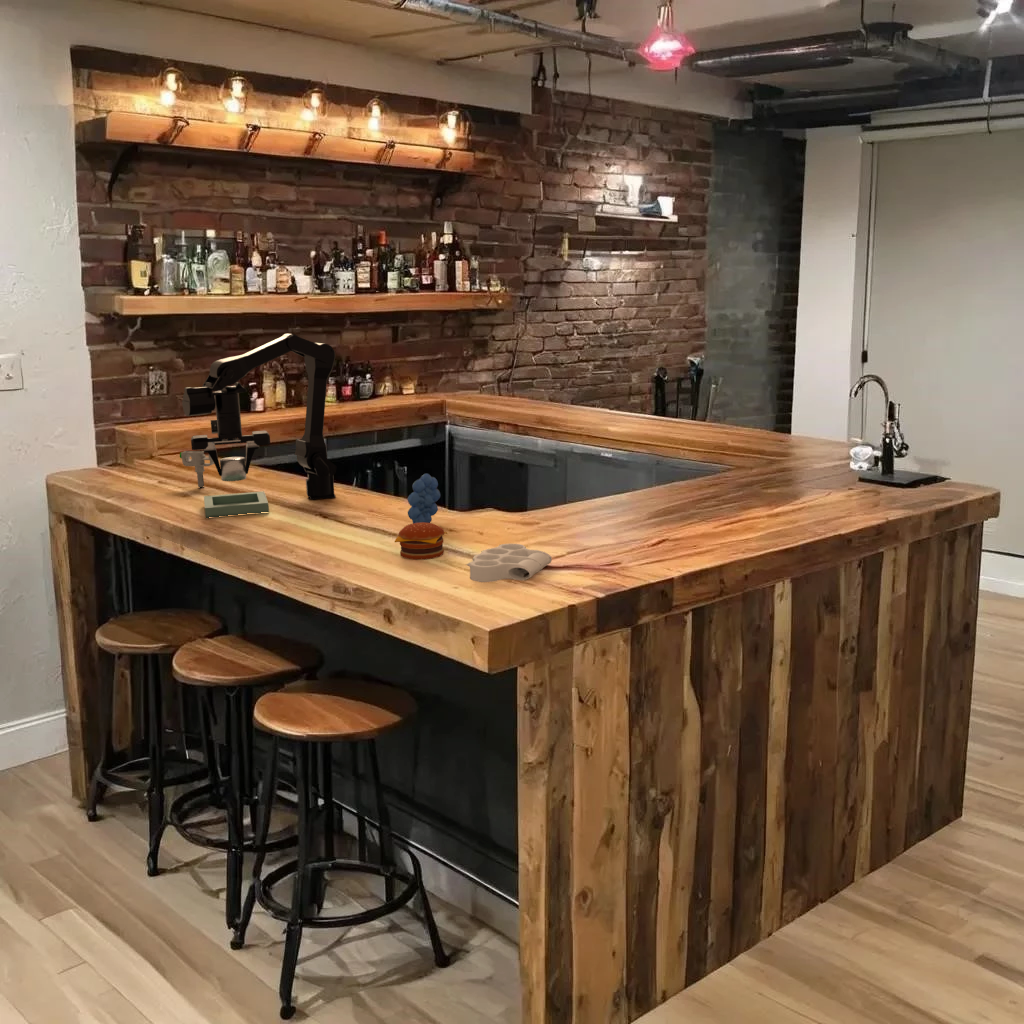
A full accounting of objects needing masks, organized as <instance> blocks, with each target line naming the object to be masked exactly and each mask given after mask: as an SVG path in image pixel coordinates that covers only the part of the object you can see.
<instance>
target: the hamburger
mask: <svg viewBox="0 0 1024 1024" xmlns="http://www.w3.org/2000/svg"><path fill="white" fill-rule="evenodd" d="M445 534H447V535H448V532H446V531H445V530H444V529H443V528H442V527H441V526H439V525H437V524H436V523H432V522H430V523H426V522H420V523H413V522H412V523H410V524H407V525H404V527H403V528H401V530H399V532H398V535H397V537H396V538H395V540H394V543H399V545H400V551H399V553H400V557H402V558H404V559H408V560H415V561H418V560H419V561H420V560H421V561H424V560H425V561H426V560H431V559H436V558H440V557H442V556H443V555H444V553H445V548H444V541H445V538H444V537H443V536H444V535H445Z"/></svg>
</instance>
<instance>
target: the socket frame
mask: <svg viewBox="0 0 1024 1024" xmlns="http://www.w3.org/2000/svg"><path fill="white" fill-rule="evenodd" d="M203 502H204V503H203V504H204V512H205V513H204V515H205V519H206V518H208V519H210V518H209V517H219V516H228V515H238V514H247V513H261V512H269V513H270V509H269V507H270V506H269V501H268V499H267V496H266V493H265V491H264V490H262V491H251V492H241V493H239V492H238V493H226V494H224V493H223V494H215V495H204V496H203ZM219 518H220V517H219Z"/></svg>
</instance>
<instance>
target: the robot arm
mask: <svg viewBox="0 0 1024 1024" xmlns="http://www.w3.org/2000/svg"><path fill="white" fill-rule="evenodd" d="M290 352H292V353H294V354H296V355H298V356H300V357H303V358H304V367H305V370H306V374H307V377H308V378H307V379H308V383H307V396H306V411H305V424H304V433H303V435H302V437H301V439H299V438H298V439H296V440H295V452H294V455H295V456H296V461H297V462H298V464H299V465H300V466H301V467H303V469H304V472H305V473H307V478H306V479H305V488H306V489H305V490H306V496H307V497H310V498H309V499H310V500H321V499H320V498H323V499H333V498H336V494H335V485H334V484H335V483H334V475H336V473H337V465H336V464H335V463H334V462H332V461H331V460H330V459H329V458H328V449H327V445H326V442H325V438H324V427H325V426H324V424H325V414H326V413H325V410H326V397H327V387H328V385H327V384H328V379H329V376H330V375H331V373H332V371H333V368H334V365H335V359H336V351H335V349H334V348H333V346H331V345H330V344H327V343H321V342H314V341H311V340H308V339H306V338H303V337H300V336H298V335H297V334H294V333H284V334H282V336H280V337H278V338H275V339H274V340H271V341H269V342H267V343H264V344H263V345H261V346H259V347H256V348H254V349H252V350H249V351H247V352H245V353H243V354H240V355H235V356H234V355H233V356H229V357H224V358H221V359H218V360H215V361H213V362H212V364H210V367H209V374H208V376H207V378H206V379H205V381H204V382H203V384H202V386H198V387H191V386H189V387H188V386H187V387H184V389H183V390H184V393H183V395H182V401H181V402H182V404H181V405H182V409H183V410H182V411H183V412H184V415H185V416H186V417H191V416H192V417H193V416H204V415H211V414H212V412H213V411H215V416H216V417H215V418H216V419H212V420H211V419H210V426H211V427H210V428H211V430H210V432H211V434H212V435H214V434H217V437H208V434H200V435H197V434H196V435H193V436H191V437H190V443H191V451H204V454H206V453H207V454H208V456H209V455H210V457H211V458H212V460H213V462H214V464H213V465H214V466H215V468H216V471H217V474H218V475H219V477H221V468H220V459H219V456H218V452H217V447H216V446H219V445H234V444H245V467H246V475H247V474H248V473H249V470H250V467H251V462H252V458H253V457H254V453H255V451H256V450H259V449H260V446H266V445H267V446H268V445H271V437H270V436H271V434H270V433H269V432H268V431H267V430H256V431H251V432H252V434H248V435H245V434H244V435H243V428H242V418H241V417H242V415H241V406H240V394H241V393H247V392H248V390H247V388H245V387H244V386H243V385H242V384H241V383H240V382H239V381H240V380H242V379H243V378H244V377H246V376H247V375H248V374H249V373H250V372H251V371H252V370H254V369H256V368H258V367H259V366H262V365H265V364H266V363H269V362H270V361H271V362H272V360H275V359H278V358H279V357H282V356H283V355H284V356H285V354H288V353H290Z"/></svg>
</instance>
